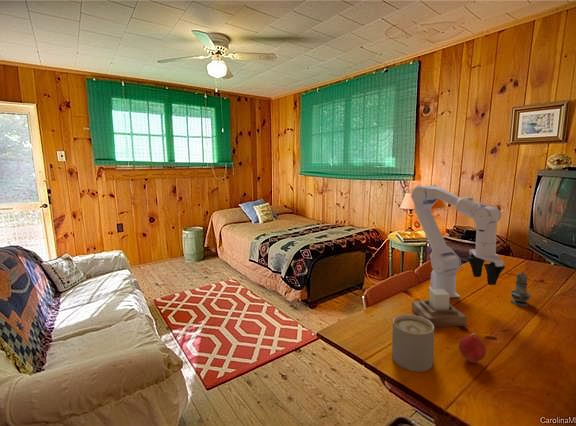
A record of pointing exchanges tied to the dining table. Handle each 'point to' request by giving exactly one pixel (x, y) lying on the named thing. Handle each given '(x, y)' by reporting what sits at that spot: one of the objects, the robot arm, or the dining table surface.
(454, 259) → the robot arm
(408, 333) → the grey can
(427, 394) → the dining table surface
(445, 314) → the taupe stepped square slab
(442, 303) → the block
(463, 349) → the onion
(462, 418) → the dining table surface
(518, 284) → the salt shaker
